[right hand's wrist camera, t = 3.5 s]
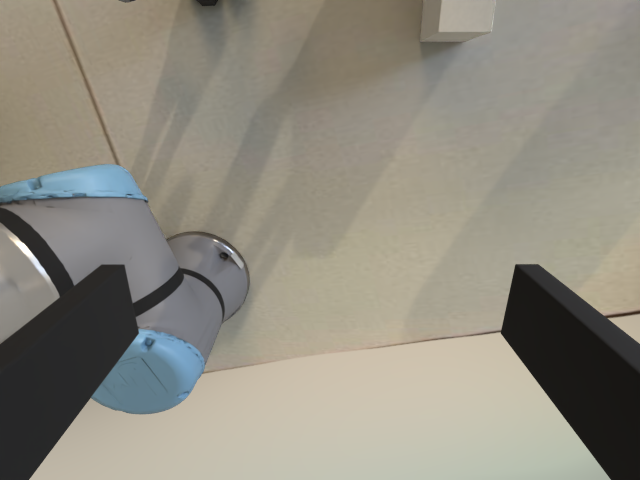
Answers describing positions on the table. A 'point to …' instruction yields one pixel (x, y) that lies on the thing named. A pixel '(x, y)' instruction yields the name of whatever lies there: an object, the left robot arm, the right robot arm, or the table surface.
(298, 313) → the table surface
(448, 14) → the bar
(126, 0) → the robot
